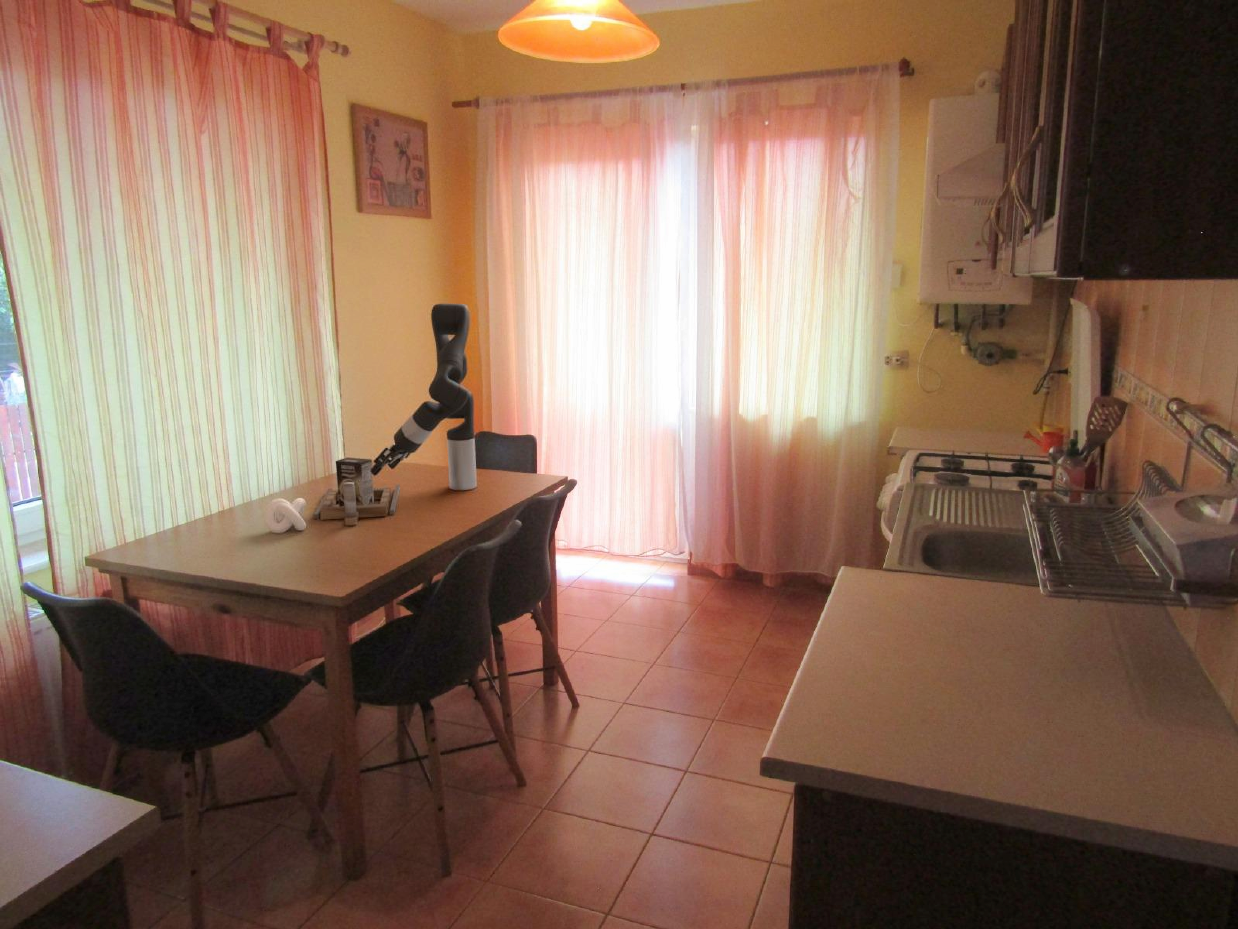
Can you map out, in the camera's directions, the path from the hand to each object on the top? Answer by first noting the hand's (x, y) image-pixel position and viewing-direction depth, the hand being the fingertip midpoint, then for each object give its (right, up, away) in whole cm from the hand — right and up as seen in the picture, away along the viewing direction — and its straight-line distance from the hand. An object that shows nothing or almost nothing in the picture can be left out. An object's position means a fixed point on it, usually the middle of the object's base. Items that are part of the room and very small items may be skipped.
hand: (381, 470), depth 247 cm
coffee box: (-14, -13, +22) cm, 29 cm away
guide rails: (-15, -11, +30) cm, 35 cm away
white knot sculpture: (-28, -18, +2) cm, 33 cm away
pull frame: (-13, -13, +20) cm, 28 cm away
